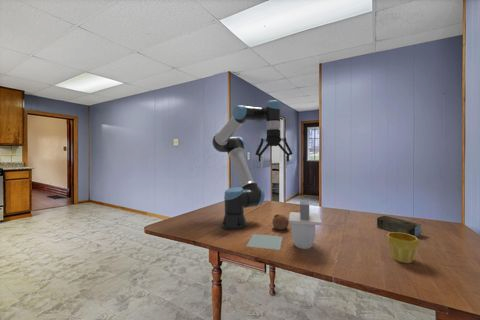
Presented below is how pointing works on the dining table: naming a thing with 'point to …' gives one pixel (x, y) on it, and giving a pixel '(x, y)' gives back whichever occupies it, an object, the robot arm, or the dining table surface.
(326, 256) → the dining table surface
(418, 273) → the dining table surface
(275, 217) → the onion
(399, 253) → the plant pot
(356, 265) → the dining table surface
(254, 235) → the mat
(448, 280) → the dining table surface
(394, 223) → the beverage carton
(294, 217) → the lid
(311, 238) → the mug
